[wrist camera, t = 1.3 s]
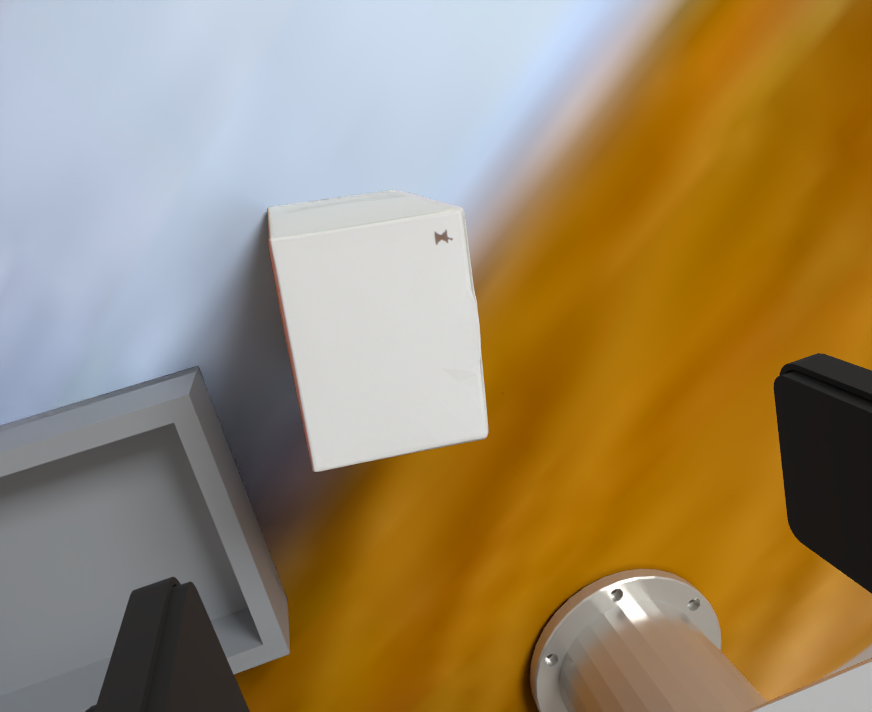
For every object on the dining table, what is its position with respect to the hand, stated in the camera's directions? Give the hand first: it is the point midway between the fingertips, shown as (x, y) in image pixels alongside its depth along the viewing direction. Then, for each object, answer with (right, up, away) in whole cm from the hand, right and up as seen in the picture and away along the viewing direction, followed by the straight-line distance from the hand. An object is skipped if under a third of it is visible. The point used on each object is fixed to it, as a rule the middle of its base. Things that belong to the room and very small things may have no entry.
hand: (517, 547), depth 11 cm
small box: (-6, +7, +25) cm, 26 cm away
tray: (-19, -6, +25) cm, 32 cm away
